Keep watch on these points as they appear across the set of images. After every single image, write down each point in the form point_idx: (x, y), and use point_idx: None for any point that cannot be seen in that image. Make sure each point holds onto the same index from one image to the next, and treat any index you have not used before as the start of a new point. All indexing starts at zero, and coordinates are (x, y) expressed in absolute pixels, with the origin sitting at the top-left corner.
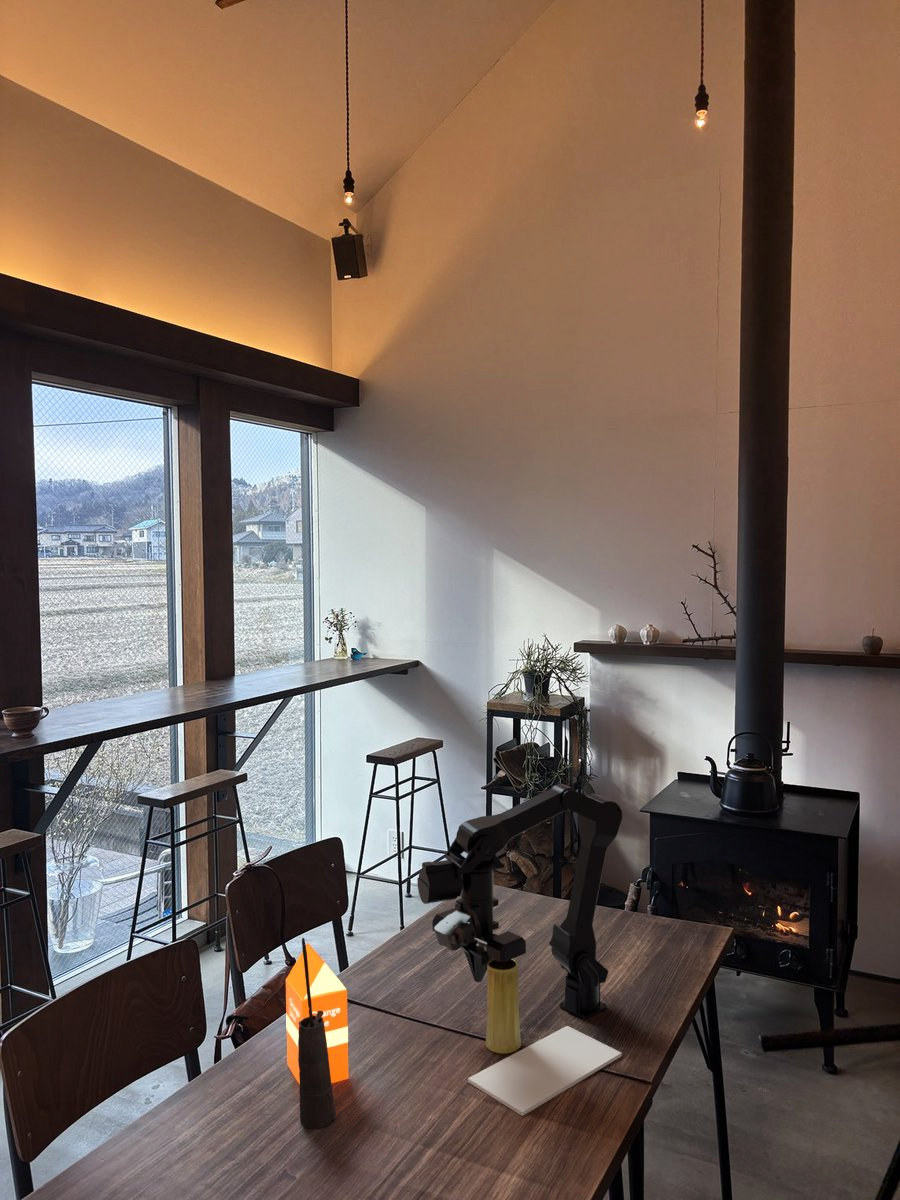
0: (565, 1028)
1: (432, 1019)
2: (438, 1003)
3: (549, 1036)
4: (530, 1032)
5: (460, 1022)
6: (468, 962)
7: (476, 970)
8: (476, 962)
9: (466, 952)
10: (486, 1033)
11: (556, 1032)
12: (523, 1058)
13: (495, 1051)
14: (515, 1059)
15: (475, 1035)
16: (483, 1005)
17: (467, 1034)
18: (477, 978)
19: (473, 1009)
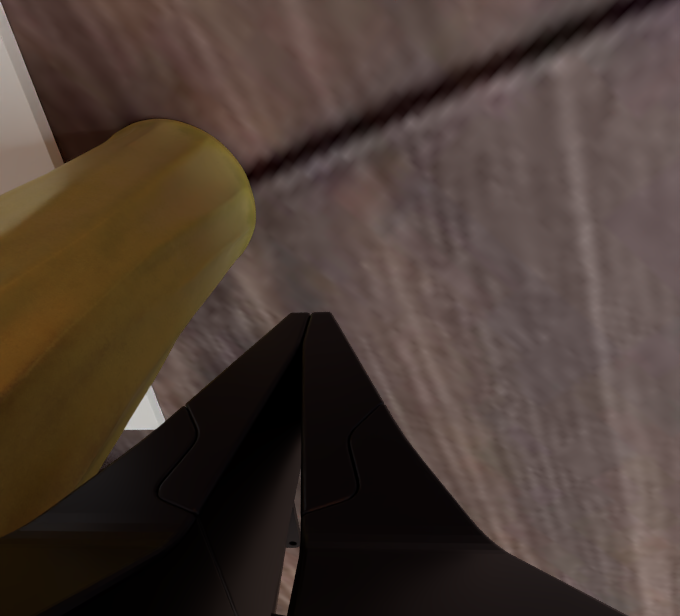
0: (146, 416)
1: (596, 79)
2: (669, 212)
3: None
4: (208, 335)
5: (456, 179)
6: (377, 405)
7: (247, 373)
8: (182, 448)
9: (397, 531)
10: (191, 151)
11: None
12: (5, 180)
13: (127, 126)
14: (10, 147)
15: (316, 157)
16: (481, 338)
17: (348, 132)
18: (273, 328)
19: (491, 293)
